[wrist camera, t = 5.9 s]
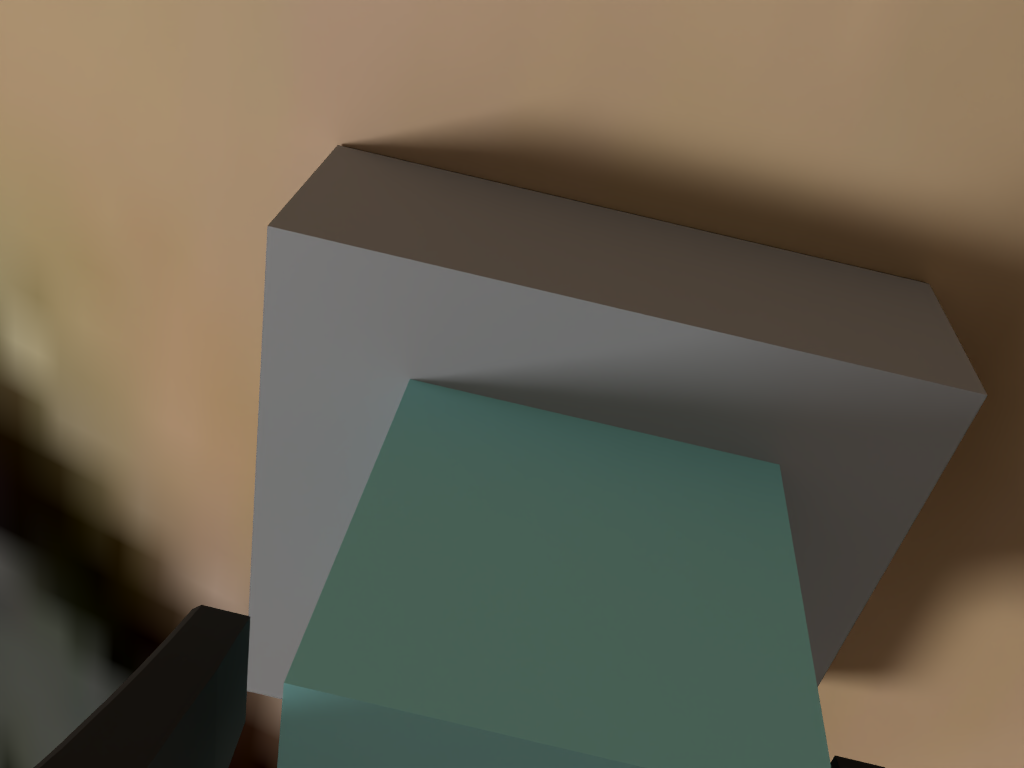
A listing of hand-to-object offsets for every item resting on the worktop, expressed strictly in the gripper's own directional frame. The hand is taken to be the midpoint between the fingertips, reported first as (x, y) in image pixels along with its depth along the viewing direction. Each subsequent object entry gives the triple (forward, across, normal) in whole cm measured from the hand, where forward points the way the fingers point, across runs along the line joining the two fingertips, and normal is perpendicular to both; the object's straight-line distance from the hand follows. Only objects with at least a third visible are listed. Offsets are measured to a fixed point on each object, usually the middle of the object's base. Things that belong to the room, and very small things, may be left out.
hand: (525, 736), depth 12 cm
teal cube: (+3, 0, 0) cm, 3 cm away
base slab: (+6, 0, 0) cm, 6 cm away
